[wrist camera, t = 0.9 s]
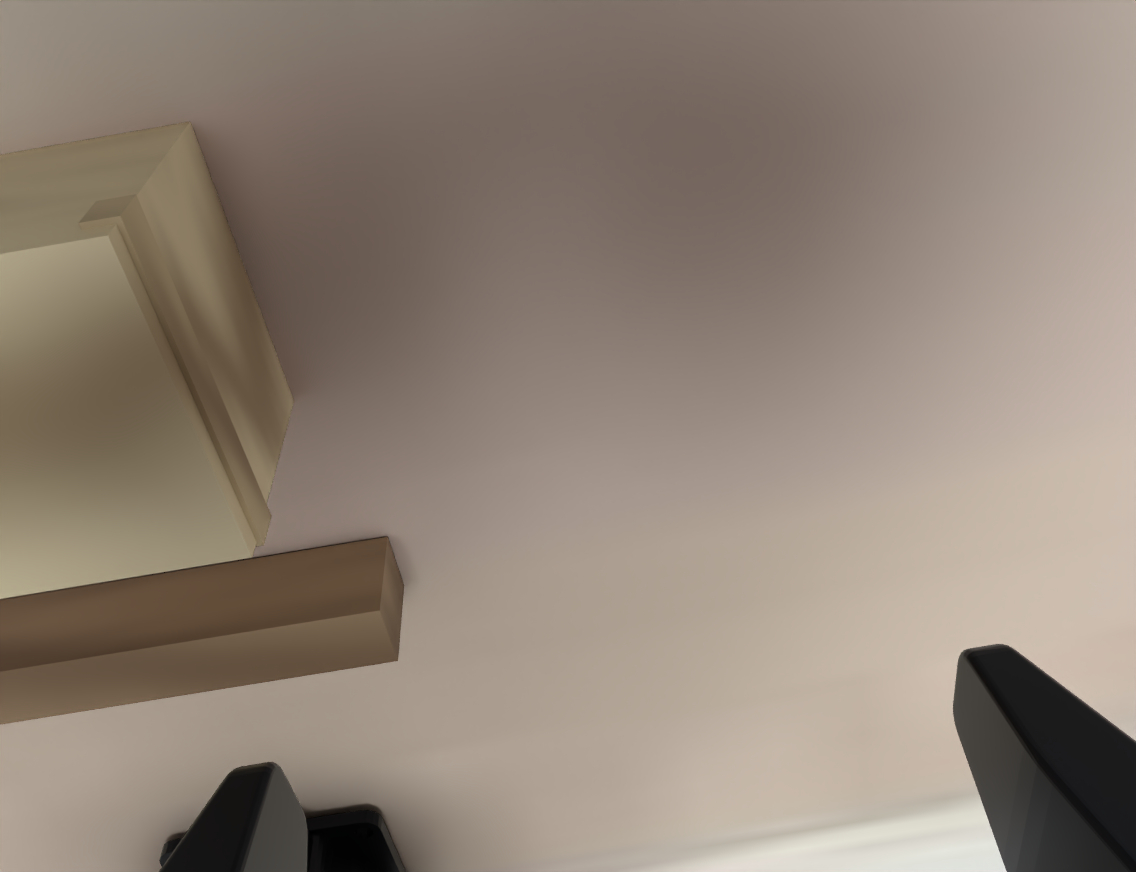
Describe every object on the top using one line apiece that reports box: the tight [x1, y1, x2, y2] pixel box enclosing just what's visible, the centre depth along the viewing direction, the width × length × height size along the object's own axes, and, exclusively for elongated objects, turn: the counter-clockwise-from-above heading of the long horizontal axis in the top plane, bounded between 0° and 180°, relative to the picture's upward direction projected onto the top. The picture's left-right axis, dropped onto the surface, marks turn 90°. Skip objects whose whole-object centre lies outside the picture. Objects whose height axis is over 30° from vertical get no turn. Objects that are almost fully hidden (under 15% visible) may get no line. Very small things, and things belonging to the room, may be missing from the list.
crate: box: [0, 122, 294, 599], centre depth 18 cm, size 6×6×5 cm
